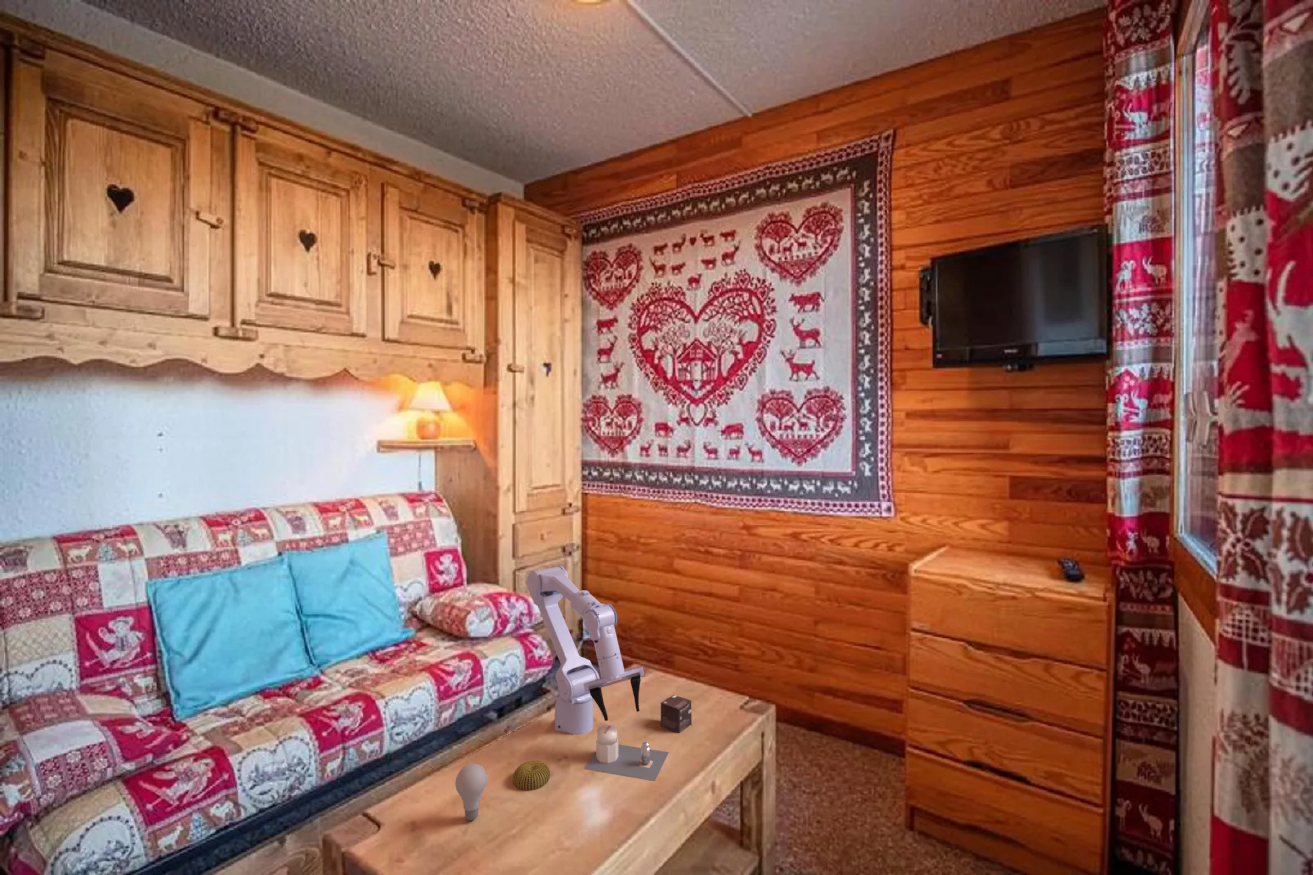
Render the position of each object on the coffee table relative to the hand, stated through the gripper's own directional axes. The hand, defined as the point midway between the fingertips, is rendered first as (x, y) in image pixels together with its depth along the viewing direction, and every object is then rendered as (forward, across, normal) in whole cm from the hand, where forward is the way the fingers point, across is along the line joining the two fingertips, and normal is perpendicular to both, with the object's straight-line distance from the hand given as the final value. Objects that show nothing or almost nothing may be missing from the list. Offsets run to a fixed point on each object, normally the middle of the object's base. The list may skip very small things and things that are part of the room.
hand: (622, 715), depth 141 cm
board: (+11, -2, +2) cm, 11 cm away
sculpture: (+8, -23, -4) cm, 24 cm away
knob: (+8, -6, +3) cm, 10 cm away
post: (+11, +3, 0) cm, 11 cm away
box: (+9, +12, +17) cm, 23 cm away
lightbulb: (+9, -33, -15) cm, 38 cm away
